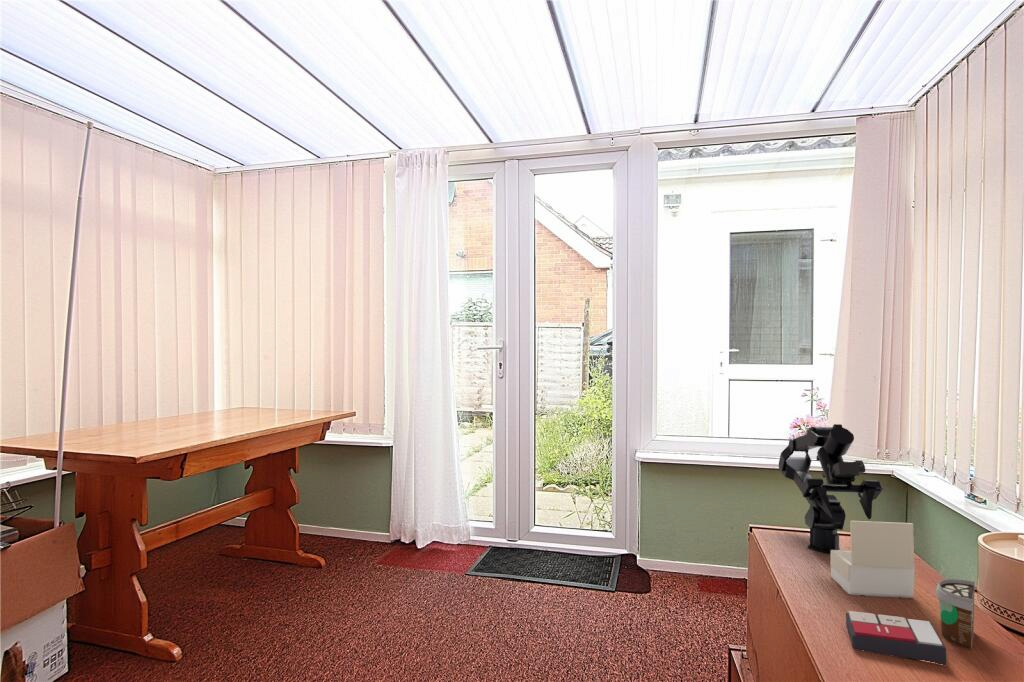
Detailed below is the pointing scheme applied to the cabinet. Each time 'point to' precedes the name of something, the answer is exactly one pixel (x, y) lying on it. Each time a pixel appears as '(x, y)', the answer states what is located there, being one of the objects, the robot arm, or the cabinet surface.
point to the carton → (871, 578)
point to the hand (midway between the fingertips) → (851, 517)
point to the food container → (957, 611)
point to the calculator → (895, 636)
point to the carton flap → (882, 544)
